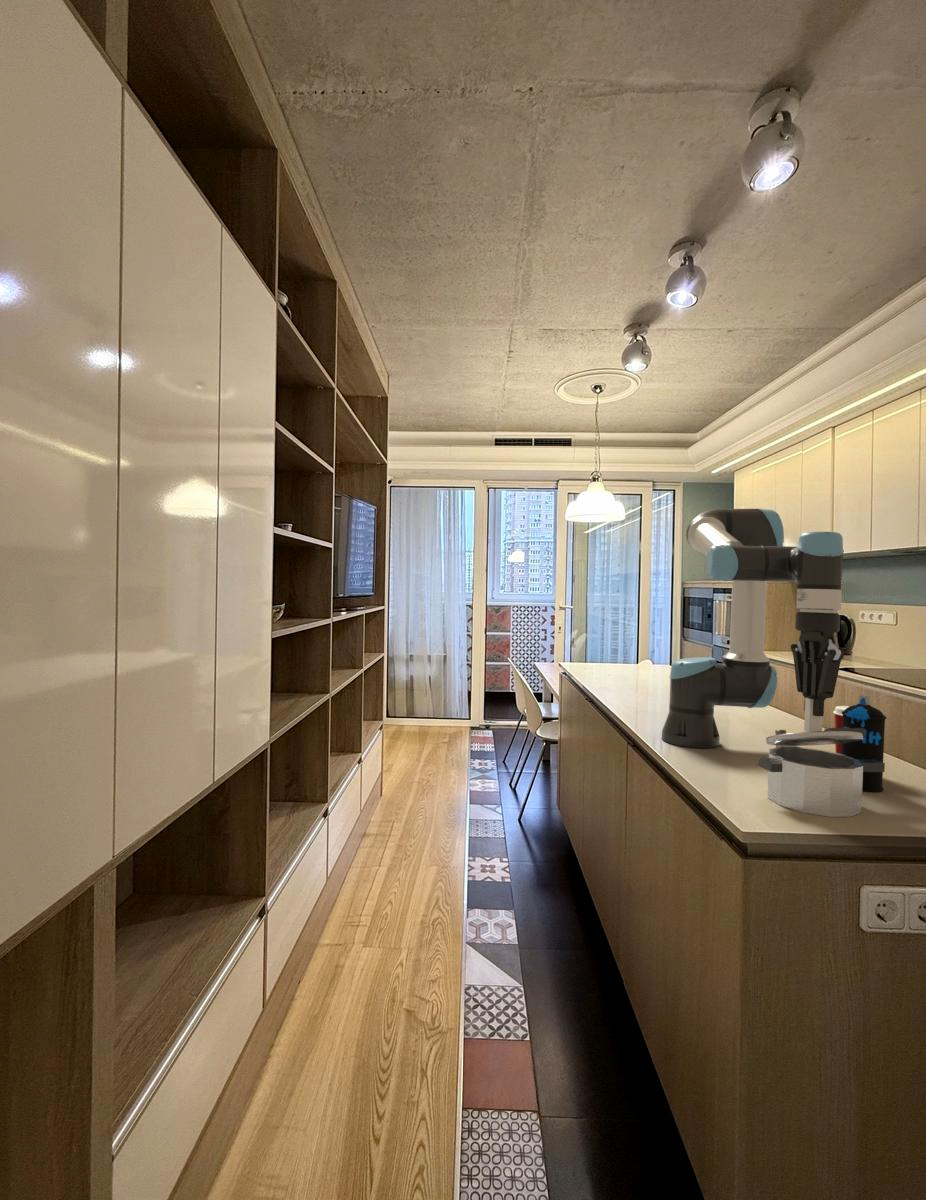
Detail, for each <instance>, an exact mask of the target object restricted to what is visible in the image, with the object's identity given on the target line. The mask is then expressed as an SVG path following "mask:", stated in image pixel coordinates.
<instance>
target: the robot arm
mask: <svg viewBox="0 0 926 1200" xmlns="http://www.w3.org/2000/svg"><path fill="white" fill-rule="evenodd" d="M685 536H686V537H685V538H686V540H687V543H688V544H689V546H690V547H691V548H692V549H694V551H696V552H697V553H698V552H699V553H702V554H703V555H704V556H705V557H706V563H705V564H706V565H705V567H706V568H705V569H706V572H707V576H708V578H710V579H711V580H717V581H724V582H728V581H730V582H731V581H732V583H731V586H732V587H731V605H730V607H731V608H730V625H729V626H730V630H729V650H728V652H727V653H725V654H724V655H723V658H722V663H721V662H720V663H717V660H716V658H714V657H708V656H707V657H706V656H705V657H702V656H701V657H697V656H695V657H687V658H680V659H677V660H674V661H673V662H672V663H671V665H670V666H671V667H670V673H669V679H670V680H669V681H670V682H669V709H668V710H669V711H668V713H667V717H666V719H665V721H664V724H663V727H662V730H661V739H662V740H663V741H664V742H665V743H669V744H672V745H676V746H681V747H687V748H695V749H711V748H716V747H719V746H720V744H721V743H720V739H721V737H720V734H719V729H718V726H717V723H716V720H715V716H714V715H715V713H714V712H715V706H721V707H739V708H747V709H755V708H766V707H769V705H770V704H771V703H772V702H773V699H774V698H775V696H776V695H775V694H776V692H777V688H778V687H777V686H778V677H777V676H778V672H777V669H776V668H775V667H774V666H772V665H771V664H770V663H771V662H770V661H771V660H770V658H768V656H767V655H766V654H765V635H766V634H765V632H766V631H765V629H766V614H767V613H766V609H767V592H768V591H767V589H768V582H777V583H778V582H779V583H780V582H781V583H783V582H784V583H790V584H795V583H796V589H797V590H796V606H795V607H796V608H795V609H797V610H799V611H797V612H795V623H794V624H795V625H794V626H795V627H794V628H795V630H796V631H798V632H799V631H800V634H799V637H798V642H797V643H792V644H790V650H791V653H792V656H793V664H794V665H793V666H794V675H795V683H796V690H797V692H798V693H801V694H802V697H804V704H803V705H804V706H803V707H804V708H803V710H804V721H803V722H804V725H803V726H804V728H803V732H816V731H823V719H824V714H825V700H827V699H832V698H833V697H834V694H835V691H836V686H837V681H838V676H839V672H840V671H839V670H840V665H841V662H842V661H843V659H844V657H845V653H846V652H845V649H839V648H838V647H837V646H836V638H835V633H838V632H840V629H841V615H840V613H837V612H838V611H840V610H841V609H842V580H843V578H842V577H843V576H842V575H843V559H844V558H843V557H844V552H845V551H844V542H843V541H844V540H843V535H842V534H841V533H840V532H837V531H836V532H835V531H807V532H802V533H801V534H800V535H799V538H798V543H797V546H787V545H786V546H784V544H783V543H784V542H785V530H784V526H783V521H782V518H781V517H780V515H779V513H778V512H777V511H775V510H773V509H769V508H768V509H767V508H766V509H764V508H714V509H709V510H706V511H703V512H701V513H700V514H698V515H696V516H695V517H694V518H693V519H692V520H690V522H689V523H688V525H687V528H686V534H685Z"/></svg>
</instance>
